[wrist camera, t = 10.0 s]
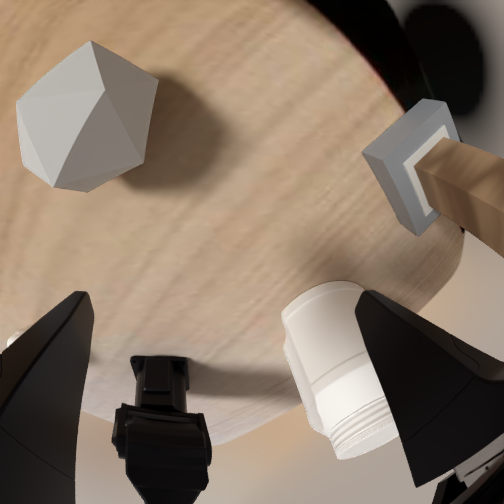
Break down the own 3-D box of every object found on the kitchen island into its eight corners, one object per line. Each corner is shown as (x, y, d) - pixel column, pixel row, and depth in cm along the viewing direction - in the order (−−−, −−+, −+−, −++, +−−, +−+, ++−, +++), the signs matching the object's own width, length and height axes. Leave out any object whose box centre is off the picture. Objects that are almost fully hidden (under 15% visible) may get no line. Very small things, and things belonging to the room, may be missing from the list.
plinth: (399, 223, 24) (419, 237, 21) (361, 151, 20) (384, 160, 17) (450, 171, 22) (471, 181, 20) (422, 98, 18) (447, 102, 15)
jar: (353, 341, 32) (405, 435, 20) (283, 362, 31) (322, 471, 19) (367, 270, 26) (454, 381, 14) (279, 292, 25) (341, 439, 13)
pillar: (428, 205, 20) (540, 290, 9) (413, 166, 18) (551, 247, 7) (456, 176, 19) (565, 244, 8) (443, 136, 17) (573, 197, 6)
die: (178, 64, 15) (79, -5, 6) (195, 175, 15) (49, 139, 6) (97, 113, 17) (2, 85, 8) (103, 211, 18) (-14, 213, 9)
